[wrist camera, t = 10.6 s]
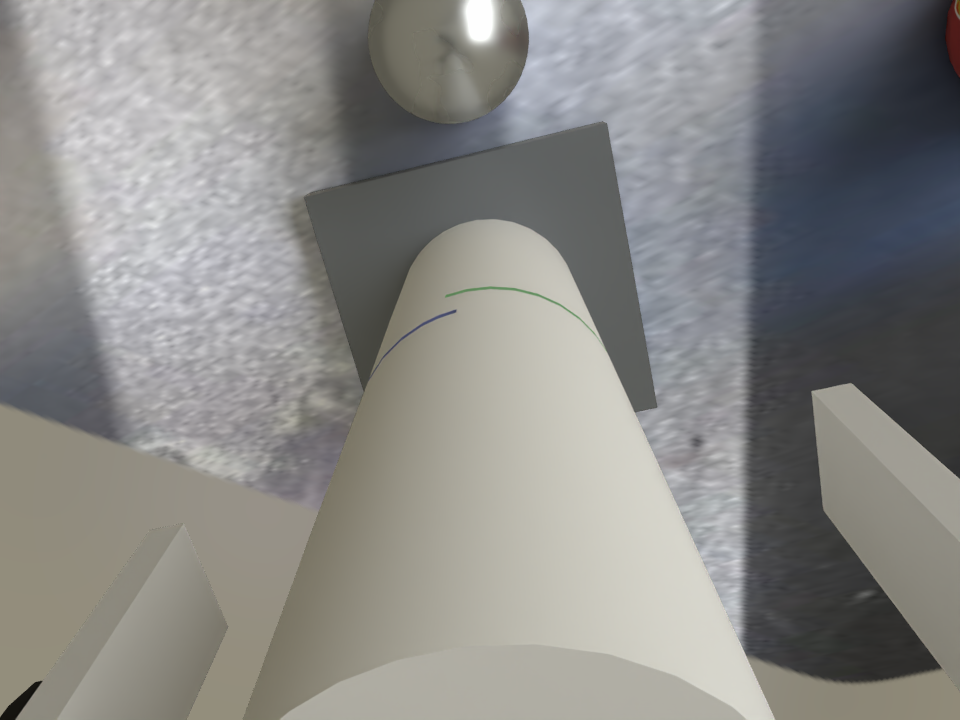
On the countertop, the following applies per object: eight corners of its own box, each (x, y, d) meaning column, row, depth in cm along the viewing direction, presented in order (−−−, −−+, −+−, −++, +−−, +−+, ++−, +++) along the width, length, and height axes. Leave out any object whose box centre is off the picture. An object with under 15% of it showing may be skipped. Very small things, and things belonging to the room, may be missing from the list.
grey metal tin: (373, -7, 30) (348, -26, 24) (503, -41, 30) (509, -69, 24) (408, 128, 32) (392, 140, 26) (531, 98, 31) (543, 102, 26)
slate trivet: (310, 192, 32) (303, 197, 31) (602, 121, 31) (606, 123, 30) (389, 453, 36) (386, 465, 35) (651, 396, 35) (657, 407, 34)
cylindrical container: (368, 274, 32) (63, 814, 9) (523, 185, 31) (658, 529, 7) (458, 415, 34) (407, 1161, 11) (606, 337, 33) (918, 981, 10)
